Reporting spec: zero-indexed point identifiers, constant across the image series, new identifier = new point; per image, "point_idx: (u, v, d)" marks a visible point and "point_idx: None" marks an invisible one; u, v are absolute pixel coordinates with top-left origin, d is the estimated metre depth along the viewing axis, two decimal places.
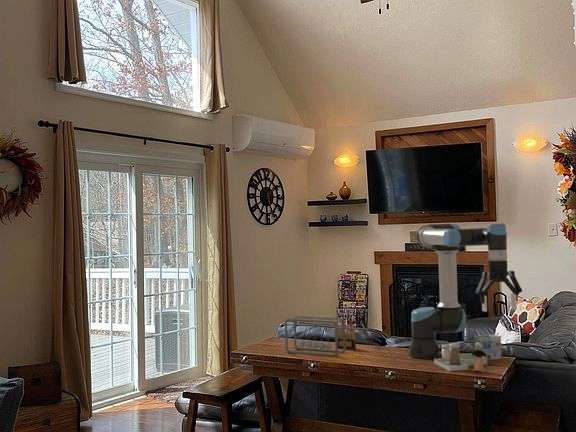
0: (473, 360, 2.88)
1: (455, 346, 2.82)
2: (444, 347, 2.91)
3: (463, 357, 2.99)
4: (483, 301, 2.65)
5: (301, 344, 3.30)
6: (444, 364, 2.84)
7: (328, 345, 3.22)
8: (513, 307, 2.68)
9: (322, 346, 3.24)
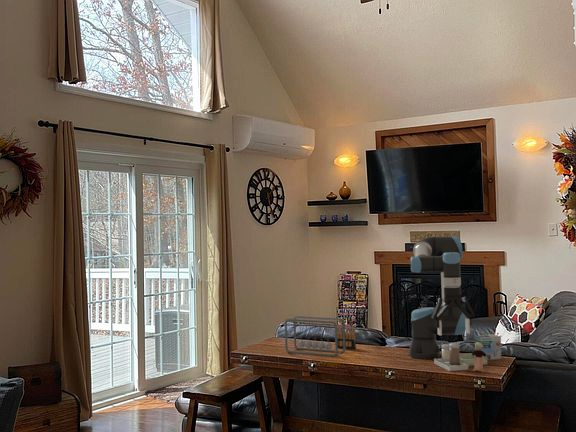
0: (473, 360, 2.88)
1: (455, 346, 2.82)
2: (444, 347, 2.91)
3: (463, 357, 2.99)
4: (438, 326, 2.82)
5: (301, 344, 3.30)
6: (444, 364, 2.84)
7: (328, 345, 3.22)
8: (467, 331, 2.85)
9: (322, 346, 3.24)
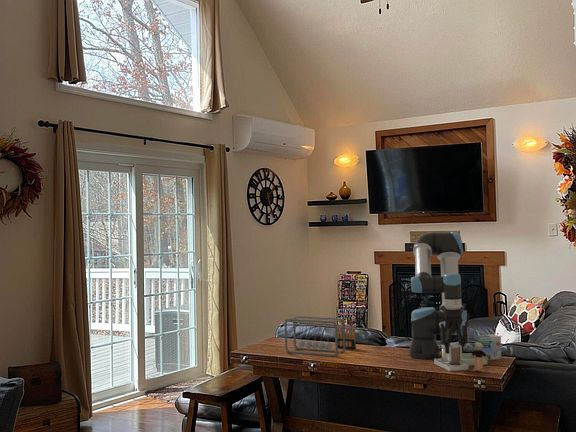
0: (473, 360, 2.88)
1: (455, 346, 2.82)
2: (444, 347, 2.91)
3: (463, 357, 2.99)
4: (448, 351, 2.83)
5: (301, 344, 3.29)
6: (444, 364, 2.84)
7: (328, 345, 3.22)
8: None
9: (322, 346, 3.24)
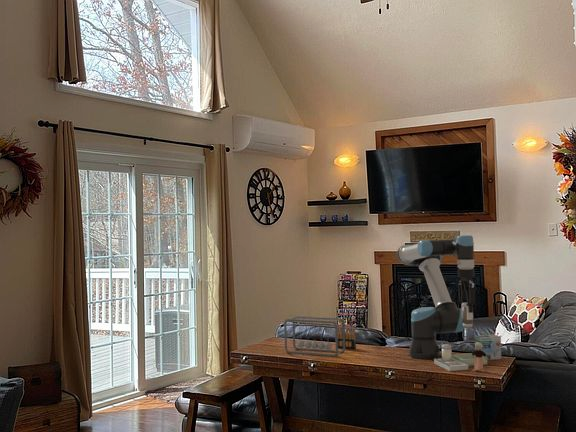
0: (473, 360, 2.88)
1: (462, 304, 2.94)
2: (444, 347, 2.91)
3: (463, 357, 2.99)
4: None
5: (300, 344, 3.29)
6: (444, 364, 2.84)
7: (328, 345, 3.22)
8: None
9: (322, 346, 3.23)
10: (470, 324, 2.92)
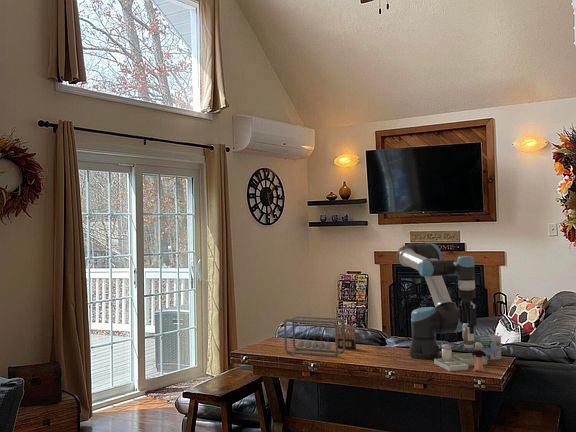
0: (473, 360, 2.88)
1: (463, 325, 2.94)
2: (444, 347, 2.90)
3: (463, 357, 2.99)
4: None
5: (300, 344, 3.29)
6: (444, 364, 2.84)
7: (328, 345, 3.22)
8: None
9: (322, 346, 3.23)
10: (471, 345, 2.92)
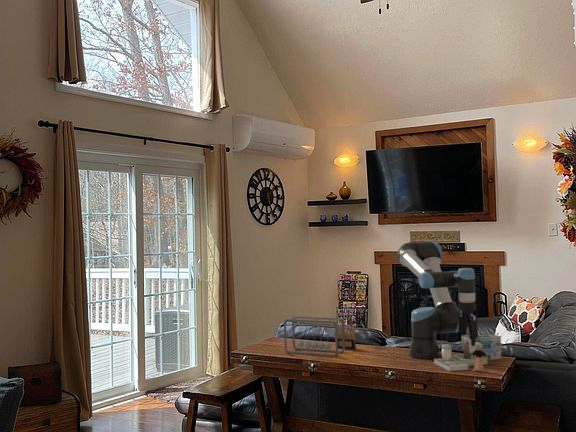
0: (473, 360, 2.88)
1: (464, 339, 2.94)
2: (444, 347, 2.91)
3: (463, 357, 2.99)
4: (462, 340, 2.99)
5: (300, 344, 3.29)
6: (444, 364, 2.84)
7: (328, 345, 3.21)
8: None
9: (322, 346, 3.23)
10: None
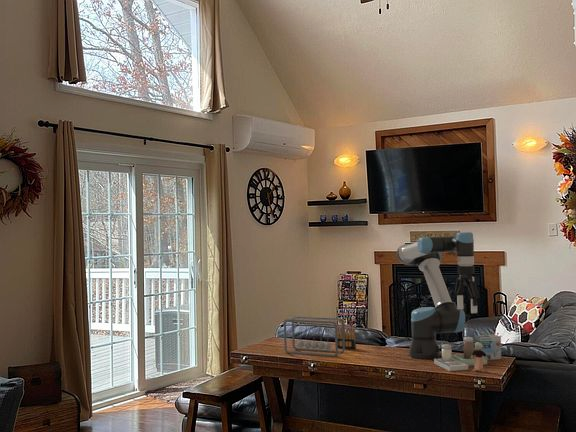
0: (473, 360, 2.88)
1: (463, 339, 2.94)
2: (444, 347, 2.91)
3: (463, 357, 2.99)
4: None
5: (300, 344, 3.29)
6: (444, 364, 2.84)
7: (328, 345, 3.21)
8: None
9: (321, 346, 3.23)
10: None
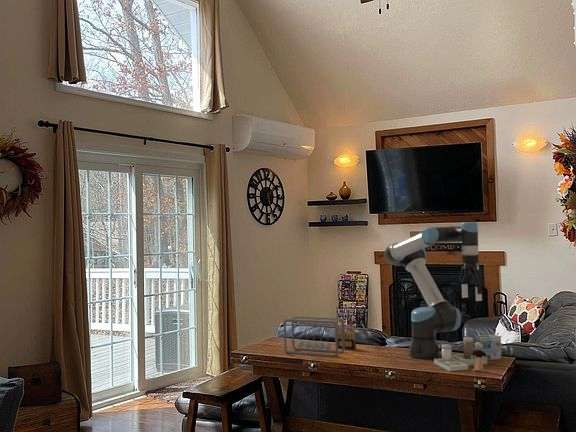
0: (473, 360, 2.88)
1: (463, 339, 2.94)
2: (444, 347, 2.90)
3: (463, 357, 2.99)
4: None
5: (300, 344, 3.28)
6: (444, 364, 2.84)
7: (328, 345, 3.21)
8: None
9: (321, 346, 3.23)
10: None
